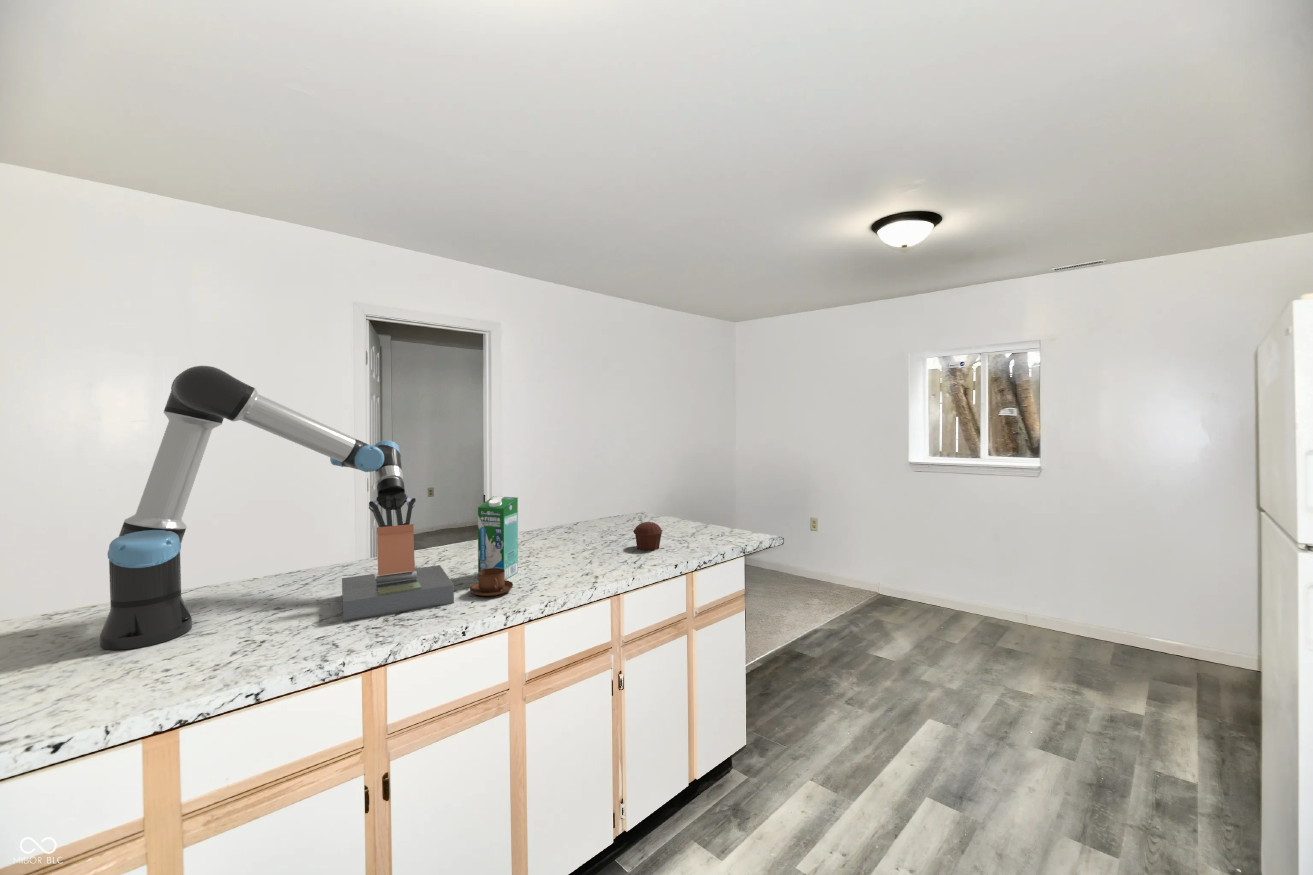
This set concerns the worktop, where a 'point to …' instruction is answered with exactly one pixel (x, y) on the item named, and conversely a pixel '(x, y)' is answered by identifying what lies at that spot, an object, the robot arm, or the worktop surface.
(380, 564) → the orange thin slab
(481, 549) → the milk carton
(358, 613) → the box
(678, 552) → the worktop surface
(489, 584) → the cup and saucer
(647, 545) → the muffin
